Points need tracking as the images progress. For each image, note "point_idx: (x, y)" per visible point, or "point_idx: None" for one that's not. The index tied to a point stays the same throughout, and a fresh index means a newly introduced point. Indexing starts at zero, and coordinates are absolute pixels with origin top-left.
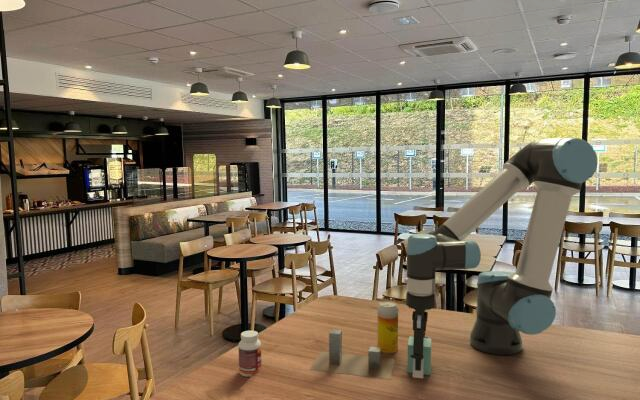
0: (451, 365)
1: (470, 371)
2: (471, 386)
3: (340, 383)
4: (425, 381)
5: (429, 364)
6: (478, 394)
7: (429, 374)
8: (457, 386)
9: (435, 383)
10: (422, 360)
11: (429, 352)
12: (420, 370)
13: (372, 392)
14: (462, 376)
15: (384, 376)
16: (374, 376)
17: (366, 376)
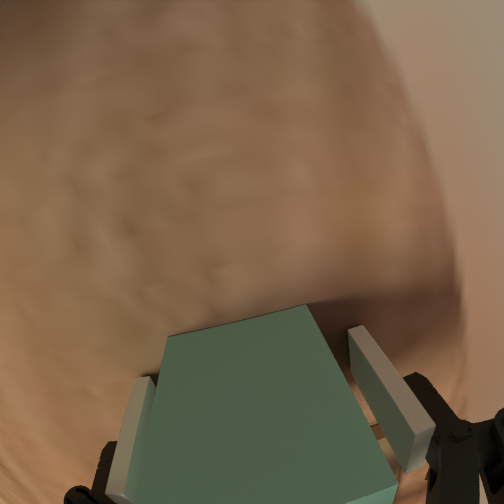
0: (50, 235)
1: (68, 97)
2: (285, 41)
3: (415, 480)
4: (342, 316)
5: (337, 367)
6: (362, 6)
7: (314, 323)
8: (329, 123)
9: (346, 261)
10: (426, 416)
11: (373, 445)
12: (419, 374)
13: (457, 416)
14: (163, 120)
15: (390, 448)
16: (396, 462)
17: (398, 472)
